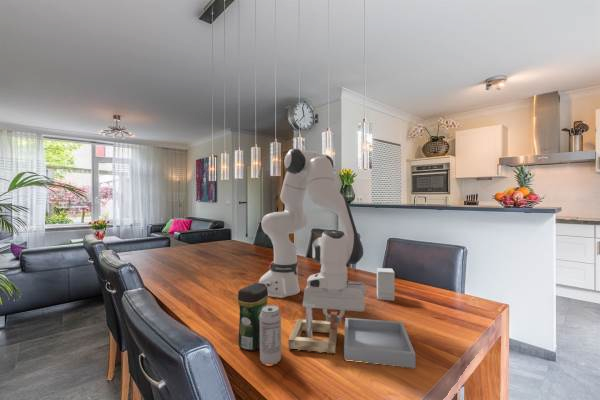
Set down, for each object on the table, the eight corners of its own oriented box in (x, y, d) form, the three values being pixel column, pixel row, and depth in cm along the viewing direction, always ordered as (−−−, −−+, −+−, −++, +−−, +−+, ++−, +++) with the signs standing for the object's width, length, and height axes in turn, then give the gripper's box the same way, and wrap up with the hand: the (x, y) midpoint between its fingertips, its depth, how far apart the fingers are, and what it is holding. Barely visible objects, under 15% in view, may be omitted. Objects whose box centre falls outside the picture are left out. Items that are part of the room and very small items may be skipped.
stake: (302, 345, 86) (302, 303, 86) (303, 342, 88) (303, 301, 88) (315, 346, 85) (315, 304, 85) (315, 343, 87) (315, 301, 87)
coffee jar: (252, 333, 93) (252, 279, 93) (272, 339, 90) (272, 282, 89) (233, 347, 85) (232, 287, 85) (254, 354, 81) (253, 292, 81)
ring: (288, 349, 83) (288, 326, 83) (297, 327, 97) (297, 307, 97) (335, 353, 81) (334, 330, 81) (337, 330, 94) (337, 310, 94)
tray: (344, 361, 78) (344, 347, 78) (345, 329, 96) (345, 317, 96) (415, 368, 74) (415, 353, 74) (402, 333, 93) (402, 322, 93)
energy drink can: (281, 354, 81) (281, 304, 81) (280, 367, 75) (280, 312, 75) (261, 355, 81) (260, 304, 81) (258, 367, 75) (258, 313, 75)
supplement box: (394, 301, 122) (395, 272, 122) (377, 299, 123) (377, 271, 123) (392, 295, 129) (392, 268, 129) (376, 294, 131) (376, 267, 130)
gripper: (365, 278, 92) (365, 319, 92) (305, 275, 96) (305, 315, 96) (366, 285, 86) (366, 328, 86) (302, 281, 90) (302, 323, 90)
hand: (333, 321), depth 91 cm, fingers closed on ring
